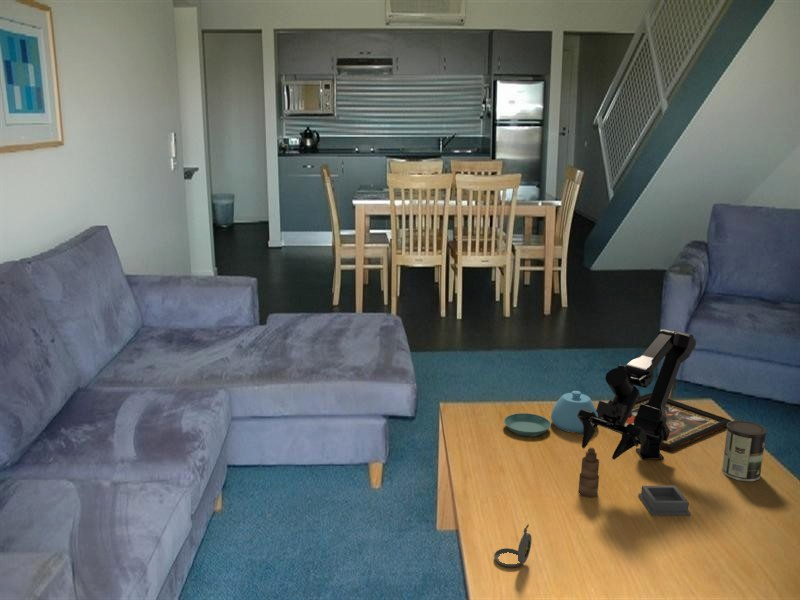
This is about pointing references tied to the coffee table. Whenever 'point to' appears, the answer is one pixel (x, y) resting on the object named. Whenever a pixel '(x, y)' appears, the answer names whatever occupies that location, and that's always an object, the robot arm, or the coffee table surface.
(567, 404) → the sugar bowl
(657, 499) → the slate open box
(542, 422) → the saucer
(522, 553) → the pocket watch
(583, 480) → the pepper mill
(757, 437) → the coffee can
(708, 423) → the framed icon painting
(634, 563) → the coffee table surface
